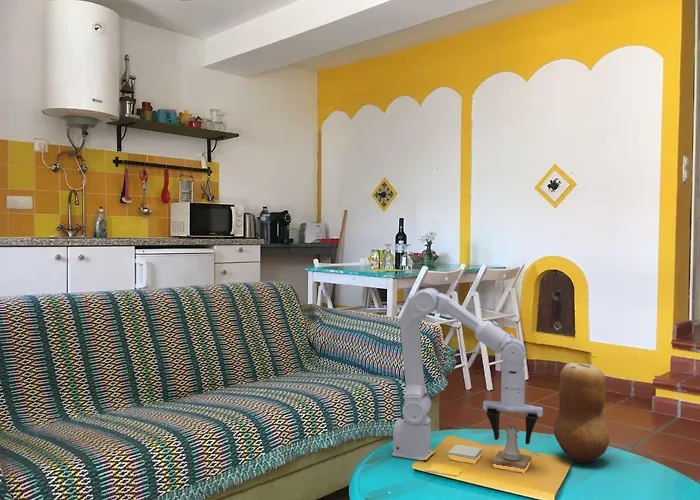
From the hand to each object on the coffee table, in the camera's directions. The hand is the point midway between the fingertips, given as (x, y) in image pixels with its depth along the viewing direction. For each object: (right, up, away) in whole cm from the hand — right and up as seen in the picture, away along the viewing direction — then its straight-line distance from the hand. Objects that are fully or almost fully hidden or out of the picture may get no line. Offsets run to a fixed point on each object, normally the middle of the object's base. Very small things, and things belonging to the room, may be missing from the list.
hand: (512, 441), depth 155 cm
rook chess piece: (0, -4, 0) cm, 4 cm away
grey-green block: (-11, -6, +5) cm, 14 cm away
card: (-17, -6, -4) cm, 19 cm away
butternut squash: (+19, -7, +5) cm, 21 cm away
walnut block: (0, -6, 0) cm, 6 cm away
